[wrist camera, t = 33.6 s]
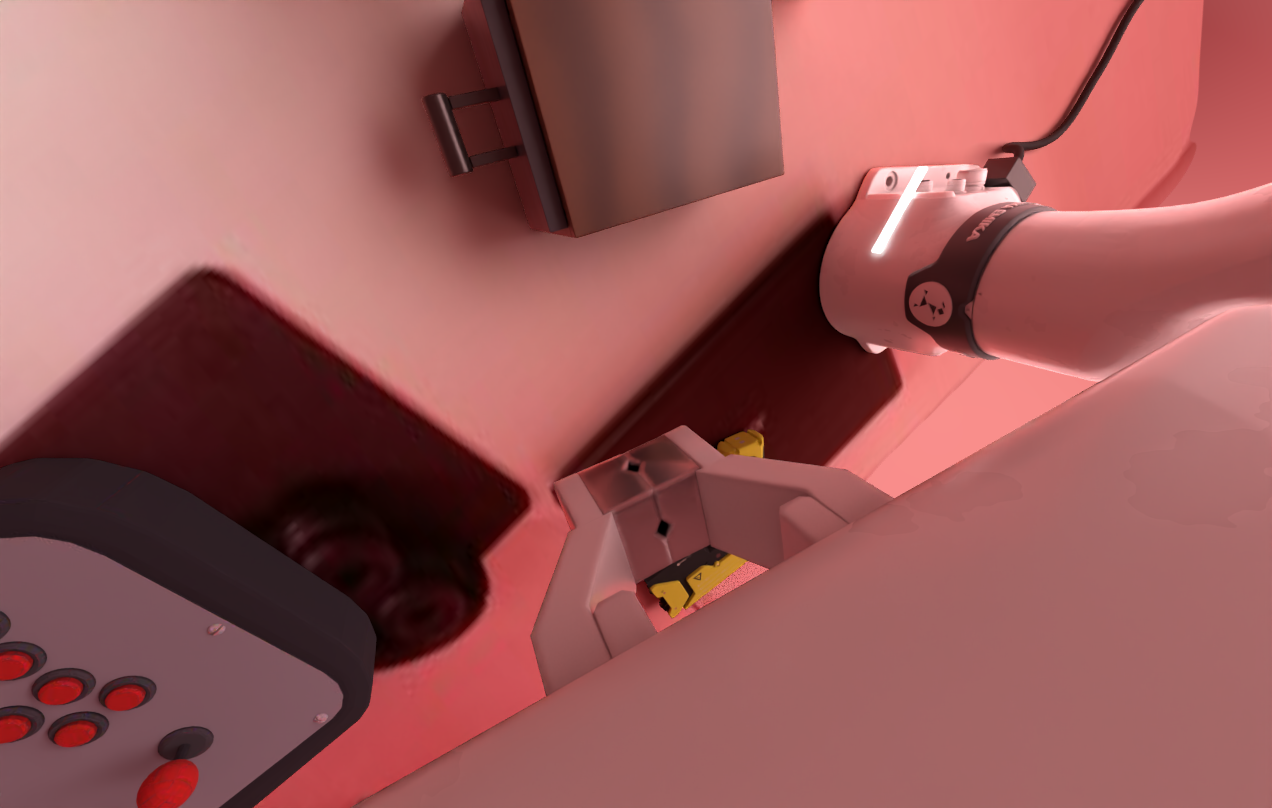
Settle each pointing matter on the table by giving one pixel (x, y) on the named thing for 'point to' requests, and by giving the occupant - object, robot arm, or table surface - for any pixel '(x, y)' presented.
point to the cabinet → (650, 101)
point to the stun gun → (708, 564)
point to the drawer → (501, 116)
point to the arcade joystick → (159, 647)
